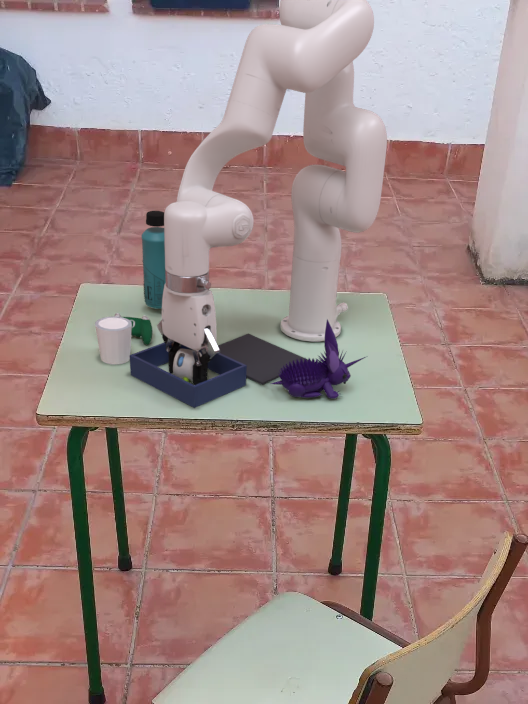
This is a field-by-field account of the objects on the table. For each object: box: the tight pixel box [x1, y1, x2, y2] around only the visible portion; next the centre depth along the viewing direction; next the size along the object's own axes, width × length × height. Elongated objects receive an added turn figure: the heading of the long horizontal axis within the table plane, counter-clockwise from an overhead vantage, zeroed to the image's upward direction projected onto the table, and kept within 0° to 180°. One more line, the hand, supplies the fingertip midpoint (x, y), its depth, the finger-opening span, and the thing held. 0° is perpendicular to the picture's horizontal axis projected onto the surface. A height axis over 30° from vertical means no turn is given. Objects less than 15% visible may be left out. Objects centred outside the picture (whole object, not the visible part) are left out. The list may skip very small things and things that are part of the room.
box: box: [129, 341, 247, 409], centre depth 165 cm, size 13×17×4 cm
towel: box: [217, 333, 309, 386], centre depth 174 cm, size 14×17×1 cm
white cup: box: [94, 315, 132, 365], centre depth 169 cm, size 7×7×7 cm
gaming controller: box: [114, 312, 153, 346], centre depth 178 cm, size 9×4×6 cm
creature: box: [270, 319, 368, 400], centre depth 161 cm, size 9×18×12 cm, turn 96°
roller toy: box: [173, 349, 202, 384], centre depth 164 cm, size 4×6×6 cm
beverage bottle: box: [141, 210, 166, 310], centre depth 184 cm, size 6×7×20 cm
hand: (188, 376), depth 166 cm, fingers closed on roller toy, 5 cm apart
